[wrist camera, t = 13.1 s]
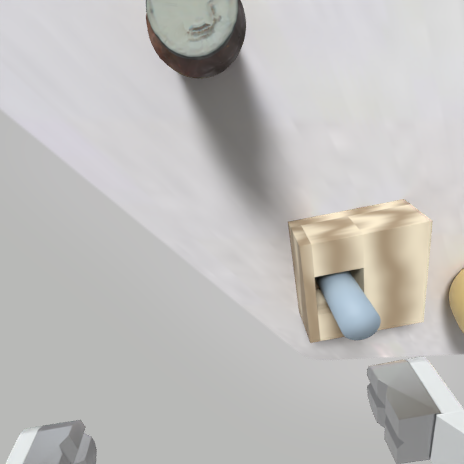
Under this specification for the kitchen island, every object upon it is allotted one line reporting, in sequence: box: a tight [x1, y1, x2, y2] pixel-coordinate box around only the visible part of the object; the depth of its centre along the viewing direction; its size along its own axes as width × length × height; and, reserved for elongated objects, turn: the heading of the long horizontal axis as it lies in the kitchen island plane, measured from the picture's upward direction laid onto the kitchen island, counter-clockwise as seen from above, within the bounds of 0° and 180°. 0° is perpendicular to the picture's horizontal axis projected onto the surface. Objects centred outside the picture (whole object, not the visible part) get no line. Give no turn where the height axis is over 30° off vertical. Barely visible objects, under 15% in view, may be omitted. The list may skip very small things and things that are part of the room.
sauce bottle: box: [146, 0, 246, 78], centre depth 24 cm, size 7×6×20 cm
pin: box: [315, 271, 381, 340], centre depth 40 cm, size 4×4×10 cm
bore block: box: [288, 199, 432, 343], centre depth 43 cm, size 14×14×6 cm
